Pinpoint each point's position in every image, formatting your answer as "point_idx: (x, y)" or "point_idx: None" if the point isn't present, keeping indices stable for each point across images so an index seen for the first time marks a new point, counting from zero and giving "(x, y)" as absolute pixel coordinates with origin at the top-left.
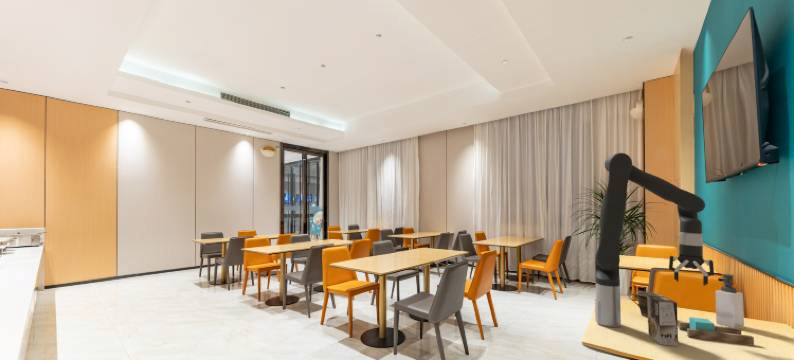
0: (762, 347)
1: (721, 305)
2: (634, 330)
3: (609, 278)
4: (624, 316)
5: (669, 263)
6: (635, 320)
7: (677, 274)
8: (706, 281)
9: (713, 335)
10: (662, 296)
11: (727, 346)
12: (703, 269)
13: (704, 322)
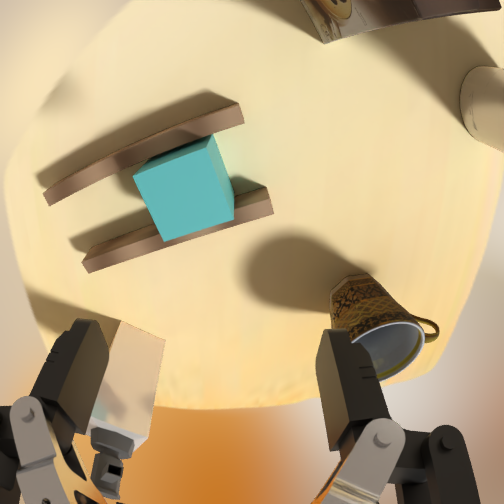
0: (41, 180)
1: (138, 386)
2: (422, 67)
3: None
4: (435, 231)
5: (476, 502)
6: (410, 205)
7: (354, 397)
8: (58, 354)
9: (149, 137)
10: (431, 10)
11: (115, 94)
12: (25, 481)
13: (169, 167)
